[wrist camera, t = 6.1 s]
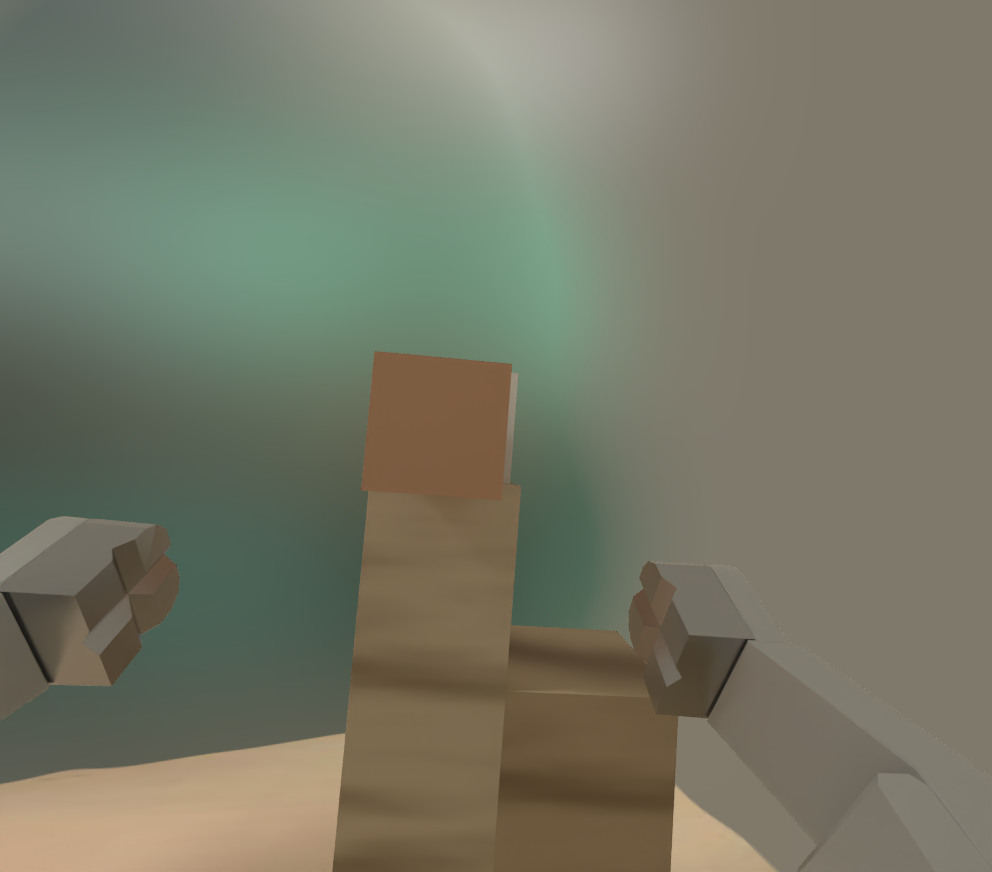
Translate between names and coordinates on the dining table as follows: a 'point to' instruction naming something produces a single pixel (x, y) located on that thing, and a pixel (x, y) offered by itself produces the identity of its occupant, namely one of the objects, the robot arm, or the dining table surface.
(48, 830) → the dining table surface
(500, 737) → the beige tall block
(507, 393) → the hammer
